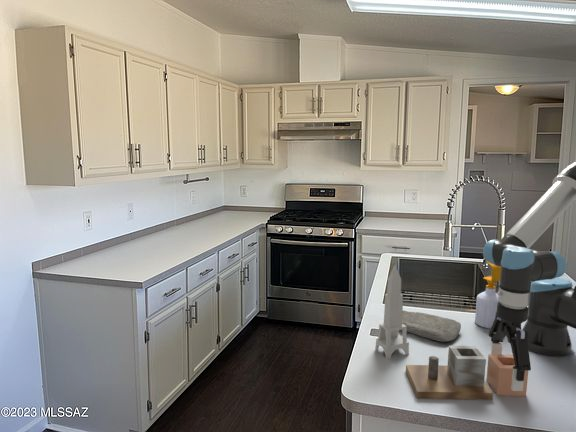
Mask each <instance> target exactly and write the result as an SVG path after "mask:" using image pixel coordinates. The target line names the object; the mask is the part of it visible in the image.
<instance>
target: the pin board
mask: <svg viewBox="0 0 576 432" xmlns="http://www.w3.org/2000/svg"><path fill="white" fill-rule="evenodd" d="M447 355H448V356H447V365H439V362H440V361H439V359H440V358H439V357H437V356H435V355H431V356H429V357H428V364H425V365H424V364H405V365H406V366H405V372H406V376H407V377H408V379H409V382H410V384H411V387H412V389H413V391H414V394H415V396H416V399H428V400H429V399H433V400H434V399H436V400H437V399H438V400H441V399H443V400H445V399H446V400H479V401H480V400H483V401H488V400H489V401H492V400H494V399H493V398H494V392H493V390H492V389H491V388H490V387H489V385H488V384H487V383H486V382H487V381H485V376H486V363H487V359H486V357H485V356H484V354H482V352H481V351H480V350H479V349H478V347H477V346H476V345H475V346H474V345H448V351H447Z"/></svg>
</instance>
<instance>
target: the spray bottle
mask: <svg viewBox="0 0 576 432" xmlns="http://www.w3.org/2000/svg"><path fill="white" fill-rule="evenodd" d="M485 262H486V264H488V265H489V267H491V276H484V277H483V280H485V281H487V283H488V284H486V285H485V290H484V291H482V292H480V293H479V294H477V296H476V301H475V302H476V304H475V316H474V317H475V318H474V322H475V323H476V324H477V325H478V326H479V327H483V328H486V329H491V327H492V325H493V322H494V320H495V316H496V312H497V303H498V302H499V301H498V295H497V292H496V288H497V287H496V285H494V284H495V283H496V282H500V273H501V267H500V266H496V265H494V264H492V263H489V262H487V261H486V260H485Z"/></svg>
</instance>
